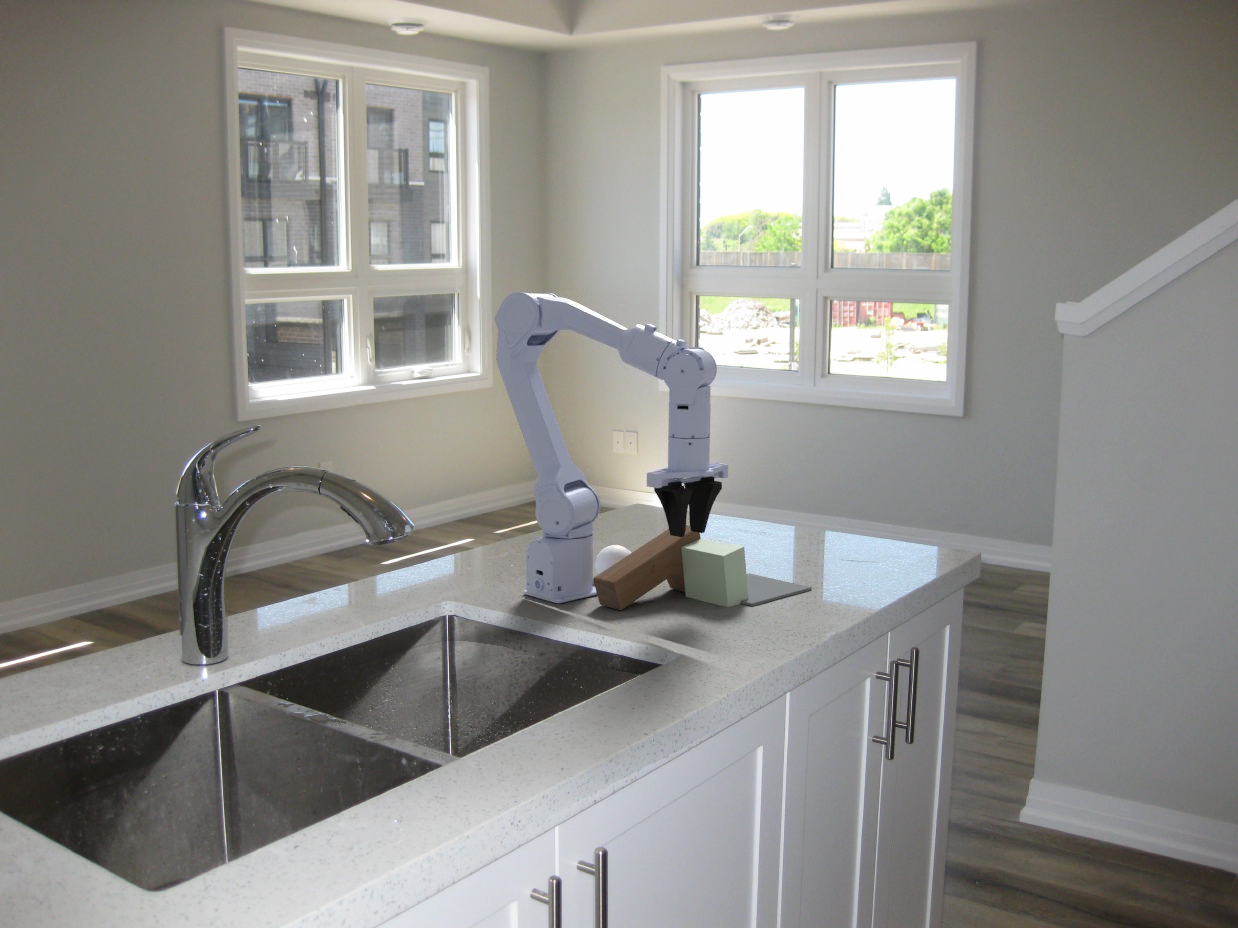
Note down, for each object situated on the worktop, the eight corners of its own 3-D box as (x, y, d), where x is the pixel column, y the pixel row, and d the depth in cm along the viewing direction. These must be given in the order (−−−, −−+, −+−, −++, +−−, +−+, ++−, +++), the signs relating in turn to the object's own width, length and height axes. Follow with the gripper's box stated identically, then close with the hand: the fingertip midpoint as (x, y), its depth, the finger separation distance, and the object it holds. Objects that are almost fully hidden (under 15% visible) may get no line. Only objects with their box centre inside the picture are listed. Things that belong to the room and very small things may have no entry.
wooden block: (711, 580, 171) (628, 640, 160) (689, 575, 174) (606, 633, 163) (699, 526, 168) (613, 583, 157) (676, 522, 171) (591, 577, 160)
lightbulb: (660, 539, 180) (605, 536, 173) (671, 574, 177) (616, 573, 170) (637, 558, 184) (582, 556, 177) (648, 592, 181) (593, 591, 174)
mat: (751, 606, 162) (751, 603, 162) (688, 590, 170) (688, 588, 170) (811, 589, 171) (811, 587, 171) (749, 575, 180) (749, 573, 180)
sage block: (728, 609, 161) (723, 555, 159) (686, 599, 167) (681, 547, 165) (748, 599, 164) (744, 546, 162) (706, 589, 170) (701, 538, 168)
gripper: (674, 443, 150) (672, 545, 152) (745, 435, 160) (743, 531, 162) (636, 438, 155) (635, 537, 157) (707, 431, 165) (705, 524, 167)
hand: (687, 533), depth 160 cm, fingers open, 4 cm apart
